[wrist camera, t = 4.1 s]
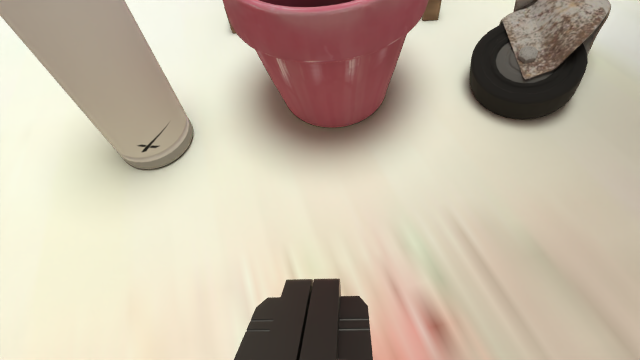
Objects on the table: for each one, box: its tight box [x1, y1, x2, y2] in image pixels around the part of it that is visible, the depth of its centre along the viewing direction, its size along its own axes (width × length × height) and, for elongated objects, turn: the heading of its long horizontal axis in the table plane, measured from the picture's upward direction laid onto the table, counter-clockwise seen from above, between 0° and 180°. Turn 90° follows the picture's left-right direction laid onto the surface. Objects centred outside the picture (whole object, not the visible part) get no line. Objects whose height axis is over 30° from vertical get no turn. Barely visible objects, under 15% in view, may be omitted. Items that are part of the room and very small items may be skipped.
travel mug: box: [0, 0, 193, 169], centre depth 26 cm, size 6×7×20 cm
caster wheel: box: [470, 0, 611, 119], centre depth 32 cm, size 7×11×10 cm
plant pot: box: [223, 0, 428, 128], centre depth 30 cm, size 14×14×13 cm
